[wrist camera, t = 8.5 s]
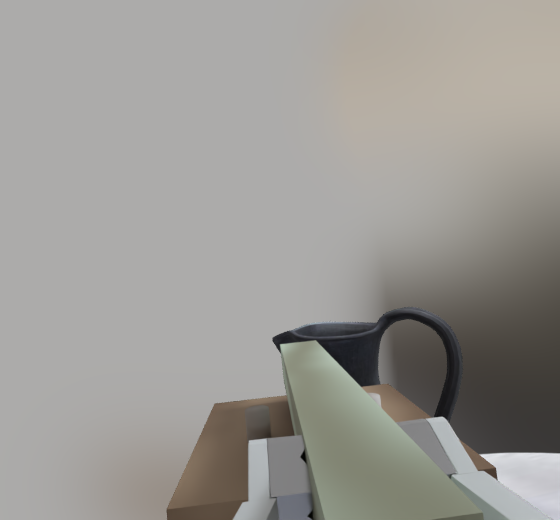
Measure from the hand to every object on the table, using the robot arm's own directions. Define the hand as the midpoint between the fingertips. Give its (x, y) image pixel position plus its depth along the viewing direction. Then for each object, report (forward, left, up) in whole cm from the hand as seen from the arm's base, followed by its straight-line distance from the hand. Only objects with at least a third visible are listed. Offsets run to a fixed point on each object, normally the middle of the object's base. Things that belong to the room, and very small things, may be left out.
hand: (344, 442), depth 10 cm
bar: (0, -5, -2) cm, 5 cm away
